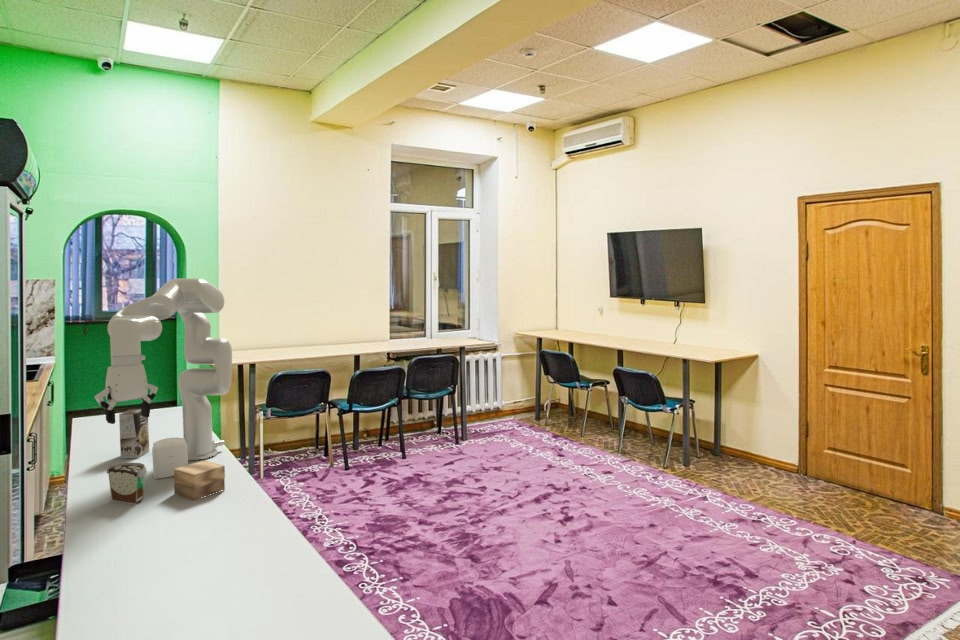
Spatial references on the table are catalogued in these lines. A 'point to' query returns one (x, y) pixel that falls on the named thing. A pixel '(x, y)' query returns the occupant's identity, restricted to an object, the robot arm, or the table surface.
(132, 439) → the coffee box
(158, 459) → the photo printer
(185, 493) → the tan cardboard flat block
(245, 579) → the table surface
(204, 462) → the oak slab
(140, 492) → the food container
